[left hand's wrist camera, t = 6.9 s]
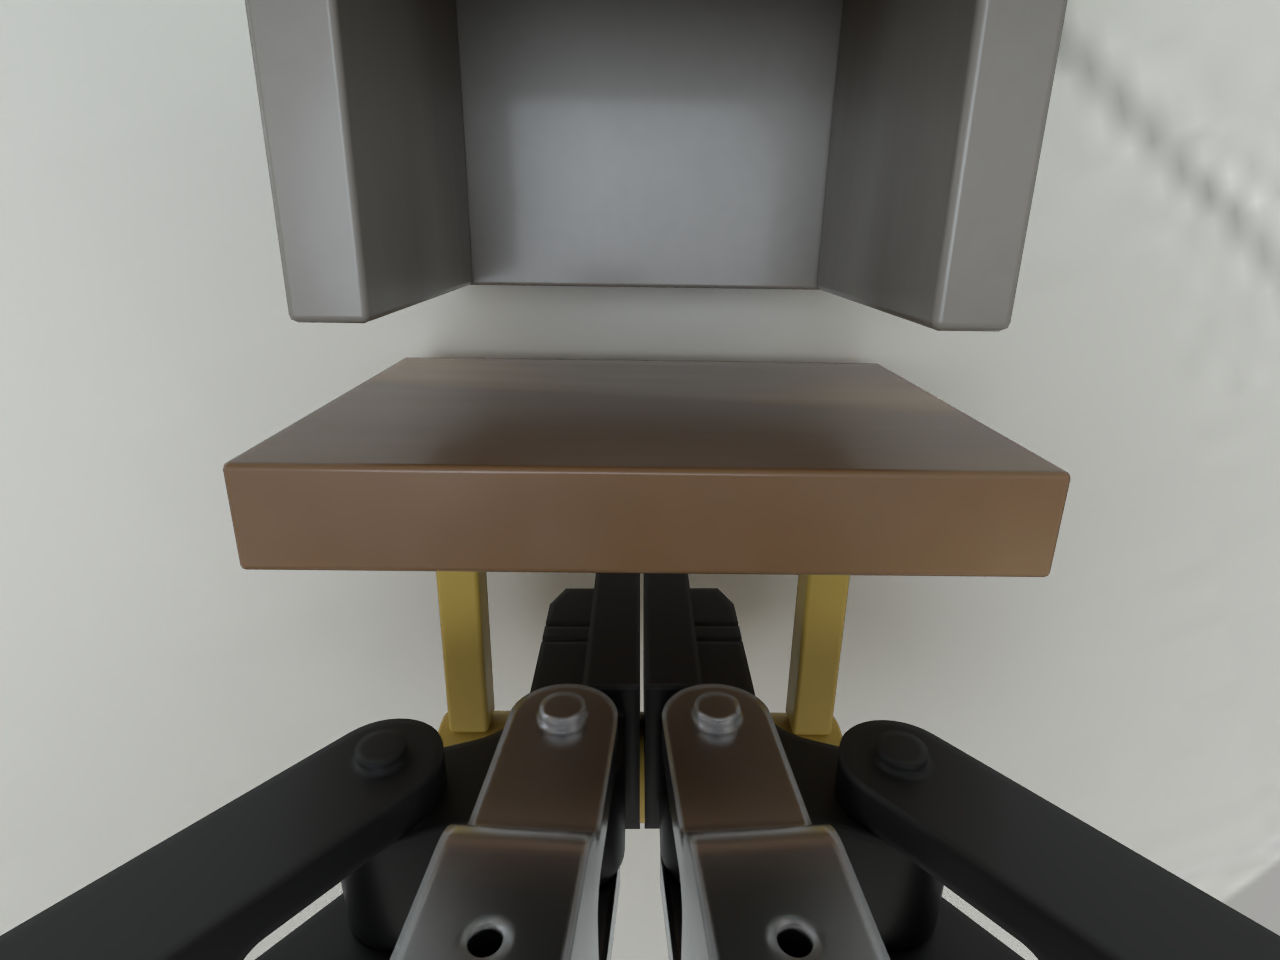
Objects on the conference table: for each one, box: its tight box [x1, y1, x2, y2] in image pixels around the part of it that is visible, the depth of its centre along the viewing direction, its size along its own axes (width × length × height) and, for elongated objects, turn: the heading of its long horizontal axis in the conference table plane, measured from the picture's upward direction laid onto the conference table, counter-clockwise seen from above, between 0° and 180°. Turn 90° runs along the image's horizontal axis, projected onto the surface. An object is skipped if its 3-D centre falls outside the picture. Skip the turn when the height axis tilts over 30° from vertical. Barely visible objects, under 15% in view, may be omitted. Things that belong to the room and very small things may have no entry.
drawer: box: [223, 0, 1070, 823], centre depth 9 cm, size 21×9×6 cm, turn 179°
